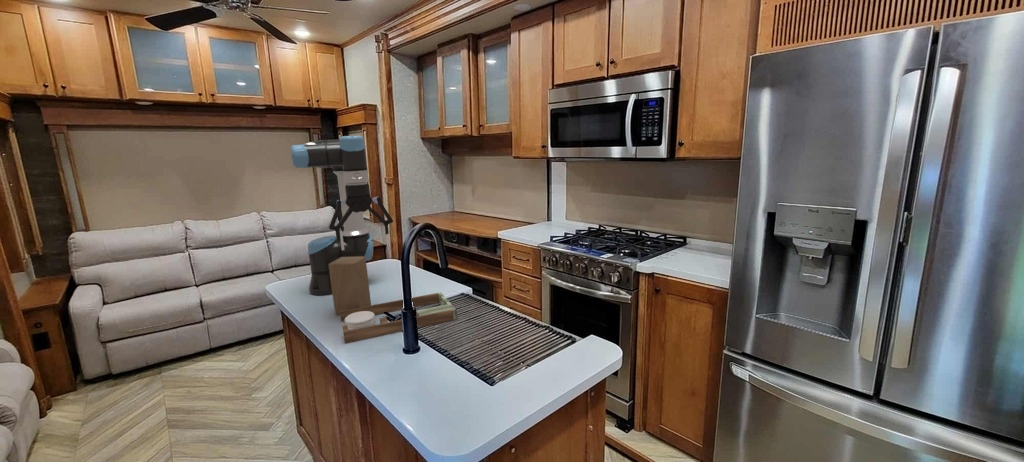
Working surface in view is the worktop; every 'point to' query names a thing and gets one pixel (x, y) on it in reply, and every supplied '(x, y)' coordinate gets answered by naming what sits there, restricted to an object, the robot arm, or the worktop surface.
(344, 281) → the wooden block
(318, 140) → the robot arm
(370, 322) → the coaster
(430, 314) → the open wooden box
